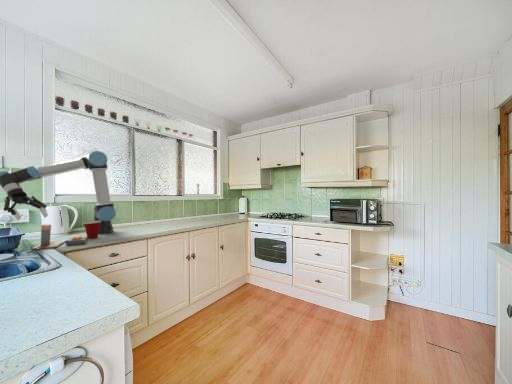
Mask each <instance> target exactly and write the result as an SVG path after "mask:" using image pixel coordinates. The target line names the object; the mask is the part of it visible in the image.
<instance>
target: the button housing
mask: <svg viewBox="0 0 512 384" xmlns="http://www.w3.org/2000/svg"><path fill="white" fill-rule="evenodd" d="M66 240H67V241H66V242H65V246H66V245H69V246H81V245H86V244H87V243H88V242H89V239H88V237H87V236H82V239H77V240H73V237H70V238H68V239H66ZM87 241H88V242H87ZM86 242H87V243H86Z"/></svg>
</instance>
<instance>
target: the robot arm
mask: <svg viewBox="0 0 512 384" xmlns="http://www.w3.org/2000/svg"><path fill="white" fill-rule="evenodd" d="M107 163H108V156H107V154H105V153H104V152H103V151H100V150H94V151H93V150H92V151H91V152H89V153H88V154H87V155H84V156H81V157H79V158H77V159H73V160H69V161H64V162H63V161H62V162H58V163H53V164H49V165H44V166H39V167H37V166H35V165H31V166H27V167H26V168H22V169H19V170H16V171H12V172H11V171H8V170H4V171H0V187H1V188H2V189H3V191H4V192H5V193H6V195H7V196H6V197H5V198H4V199H3V201H4V207H3V211H4V212H6V211H7V213H10V214H11V215H12V216H14V217H15V219H16V221H19V220H20V219H21V218H22V215H21V214H20V212H19V211H18V209H16V205H17V204H18V205H27V206H31V207H34V208H36V209H38V211H39V212H40V214H41V215H42V216H43V218H47V217H48V215H49V213H48V211H47V209H46V208H47V206H48V205H47V204H45V203H44V202H43V201H41V200H39V199H38V198H36V197H35V196H31V197H29V196H28V194H27V192H26V191H25V190H24V188H23V186H22V185H21V184H23V183H25V182H27V181H28V182H31V181H35V180H38V179H43V178H46V177H51V176H56V175H61V174H65V173H69V172H74V171H79V170H81V169H84V170H88V169H89V171H90V172H91V174H92V177H93V178H92V180H93V186H94V190H95V197H96V204H94V205H93V207H94V208H93V211H94V212H93V221H101V224H100V228H99V233H98V235H99V234H108V233H113V232H114V226H113V225H112V224H113V223H112V221H113V219H115V218H116V215H117V211H116V209H115V206H114V202H113V201H111V196H110V190H109V183H108V177H107V172H106V171H107V170H108V169H109V168H108V164H107ZM10 202H13V204H12V205H11V206H10V204H11V203H10Z"/></svg>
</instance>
